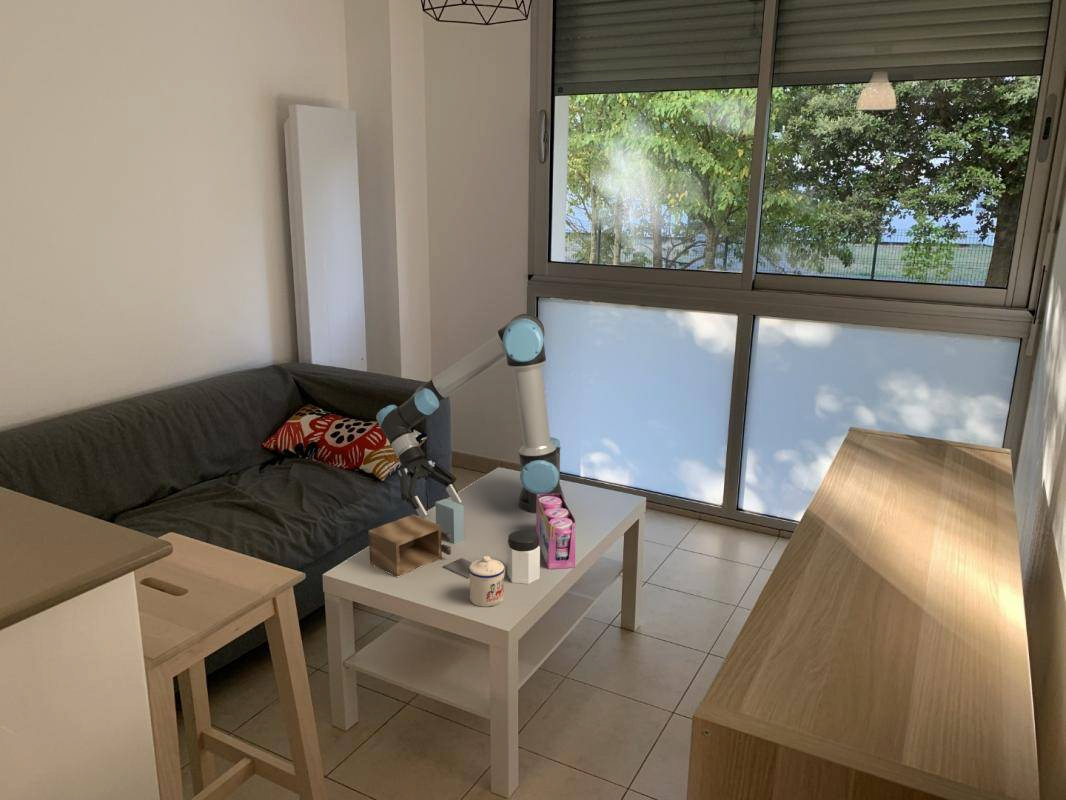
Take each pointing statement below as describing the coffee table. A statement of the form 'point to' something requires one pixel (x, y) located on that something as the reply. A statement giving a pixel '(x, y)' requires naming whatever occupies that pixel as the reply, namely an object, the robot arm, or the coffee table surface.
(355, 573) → the coffee table surface
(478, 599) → the teacup with lid
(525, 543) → the jar
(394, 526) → the cabinet
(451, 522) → the door panel
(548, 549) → the gum box
